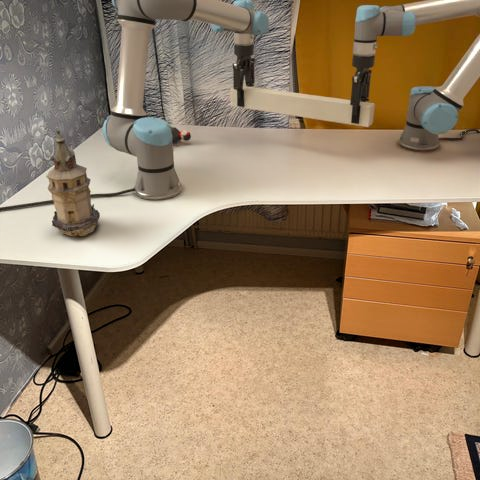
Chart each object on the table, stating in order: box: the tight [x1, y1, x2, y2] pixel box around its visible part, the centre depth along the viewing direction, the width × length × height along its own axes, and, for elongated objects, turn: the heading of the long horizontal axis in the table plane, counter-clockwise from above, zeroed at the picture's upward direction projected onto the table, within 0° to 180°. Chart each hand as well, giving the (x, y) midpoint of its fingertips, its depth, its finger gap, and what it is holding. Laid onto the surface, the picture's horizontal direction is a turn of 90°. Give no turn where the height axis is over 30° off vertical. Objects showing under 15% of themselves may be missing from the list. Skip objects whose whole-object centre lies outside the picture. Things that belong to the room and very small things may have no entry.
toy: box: [170, 125, 192, 146], centre depth 219 cm, size 26×6×30 cm
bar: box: [229, 85, 376, 128], centre depth 204 cm, size 58×5×7 cm, turn 59°
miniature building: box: [46, 129, 101, 237], centre depth 148 cm, size 13×14×30 cm
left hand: (244, 104), depth 216 cm, fingers closed on bar, 5 cm apart
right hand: (357, 120), depth 195 cm, fingers closed on bar, 5 cm apart
